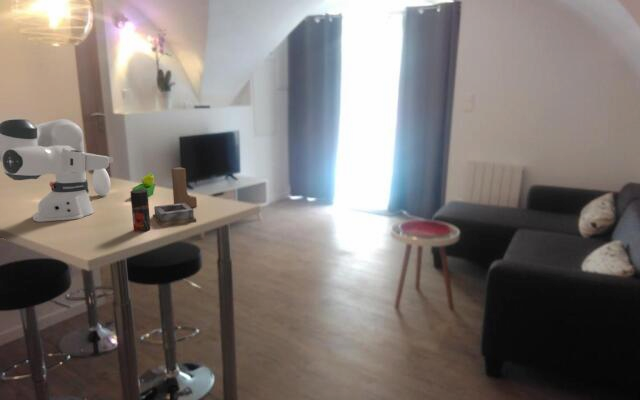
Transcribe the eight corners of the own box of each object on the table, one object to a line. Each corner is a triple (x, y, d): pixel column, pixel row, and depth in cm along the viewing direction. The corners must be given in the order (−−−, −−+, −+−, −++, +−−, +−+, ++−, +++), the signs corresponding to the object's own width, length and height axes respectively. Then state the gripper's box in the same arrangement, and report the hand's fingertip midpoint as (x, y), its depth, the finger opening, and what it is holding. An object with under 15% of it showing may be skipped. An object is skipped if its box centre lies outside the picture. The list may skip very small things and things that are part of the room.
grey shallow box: (160, 226, 182) (159, 214, 181) (152, 217, 194) (151, 206, 192) (196, 221, 189) (195, 210, 188) (186, 212, 201) (186, 202, 199)
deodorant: (153, 228, 179) (151, 190, 175) (142, 233, 174) (138, 193, 170) (142, 226, 182) (139, 188, 178) (130, 230, 176) (126, 191, 173)
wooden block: (192, 204, 214) (189, 165, 209) (197, 206, 211) (195, 167, 206) (173, 208, 208) (171, 168, 203) (178, 210, 205) (176, 169, 200)
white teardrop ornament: (96, 198, 223) (92, 160, 219) (91, 195, 229) (87, 158, 225) (113, 195, 228) (110, 159, 224) (108, 192, 234) (104, 157, 230)
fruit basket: (141, 193, 234) (139, 171, 231) (159, 193, 234) (157, 171, 231) (132, 199, 223) (129, 175, 220) (150, 199, 223) (148, 176, 220)
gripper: (44, 165, 153) (83, 163, 165) (83, 173, 143) (122, 171, 155) (43, 146, 152) (83, 145, 164) (83, 153, 142) (122, 152, 154)
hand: (102, 158), depth 159 cm, fingers open, 8 cm apart
